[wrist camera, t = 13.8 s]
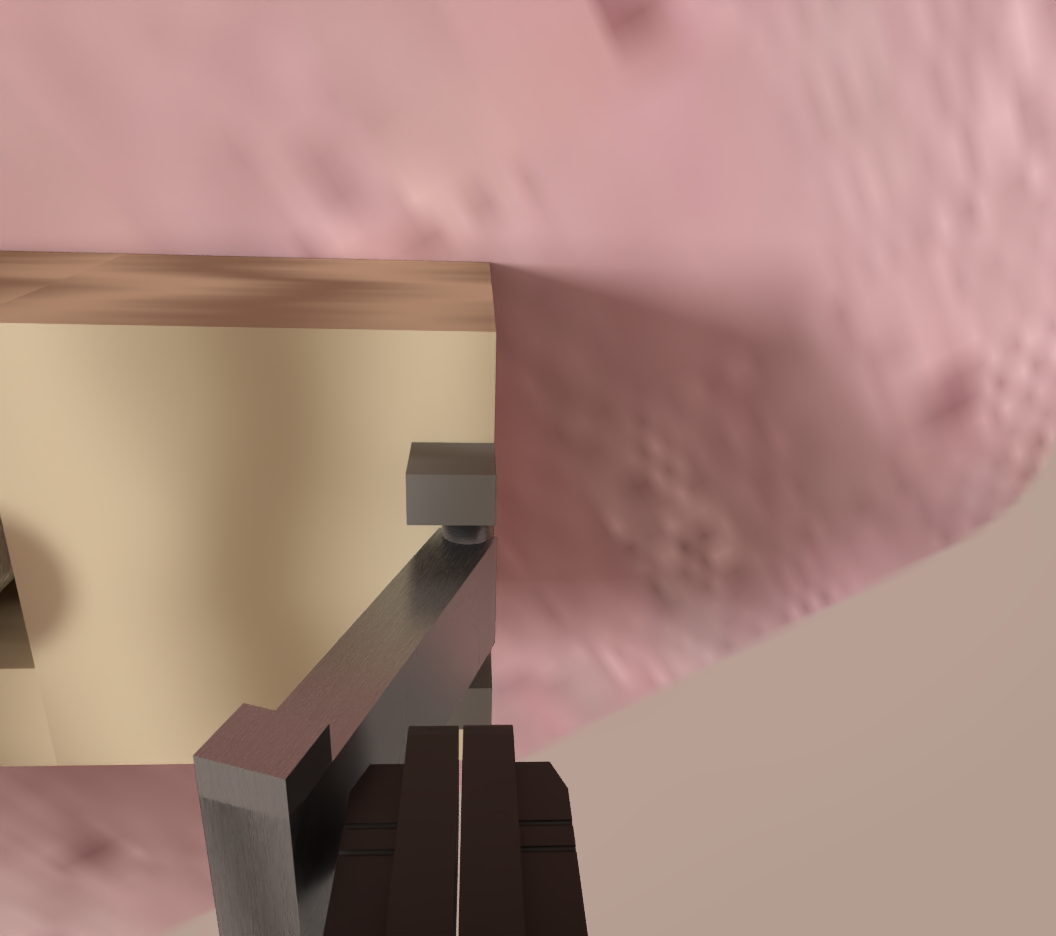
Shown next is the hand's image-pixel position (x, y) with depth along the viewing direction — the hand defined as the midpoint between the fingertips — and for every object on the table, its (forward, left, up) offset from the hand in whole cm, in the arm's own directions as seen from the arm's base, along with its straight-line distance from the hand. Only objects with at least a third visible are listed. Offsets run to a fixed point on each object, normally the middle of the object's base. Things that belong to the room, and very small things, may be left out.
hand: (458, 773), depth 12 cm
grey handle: (-2, 0, -2) cm, 3 cm away
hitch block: (-7, 0, -14) cm, 16 cm away
